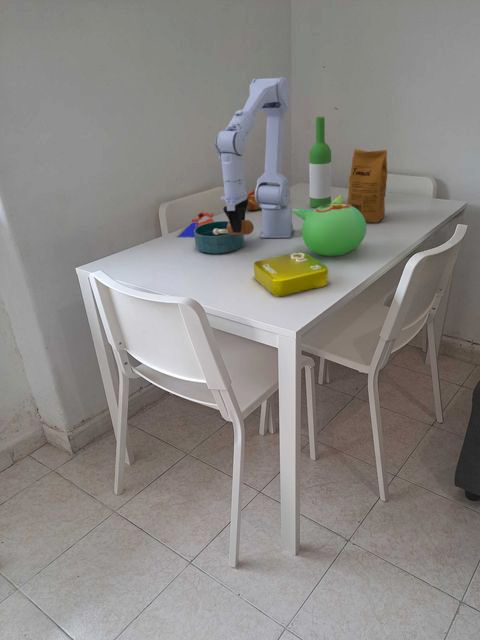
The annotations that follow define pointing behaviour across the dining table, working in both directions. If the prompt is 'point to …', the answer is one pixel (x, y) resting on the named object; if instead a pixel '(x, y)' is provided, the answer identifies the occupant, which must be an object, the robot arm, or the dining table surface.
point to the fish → (197, 224)
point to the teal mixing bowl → (216, 238)
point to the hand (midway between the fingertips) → (238, 229)
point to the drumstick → (245, 230)
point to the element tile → (290, 273)
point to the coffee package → (368, 184)
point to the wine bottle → (320, 168)
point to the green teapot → (332, 228)
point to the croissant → (252, 202)
